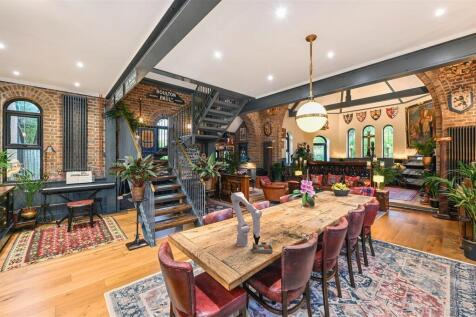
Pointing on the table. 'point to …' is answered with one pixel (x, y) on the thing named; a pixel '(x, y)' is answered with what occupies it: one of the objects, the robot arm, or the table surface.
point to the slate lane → (263, 249)
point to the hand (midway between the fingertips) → (256, 242)
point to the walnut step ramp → (255, 247)
